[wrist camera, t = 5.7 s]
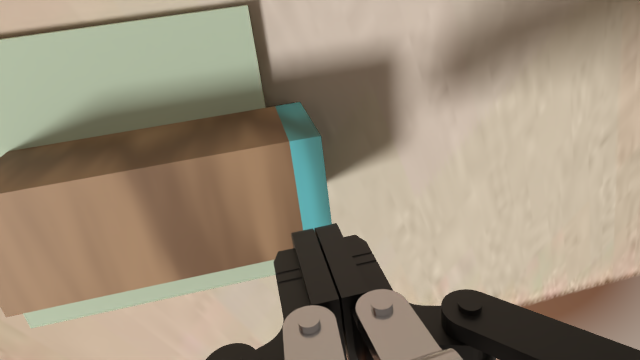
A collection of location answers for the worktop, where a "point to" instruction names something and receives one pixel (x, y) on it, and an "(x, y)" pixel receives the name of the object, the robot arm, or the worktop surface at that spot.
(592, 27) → the worktop surface
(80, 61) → the sage mat
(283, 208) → the walnut block
